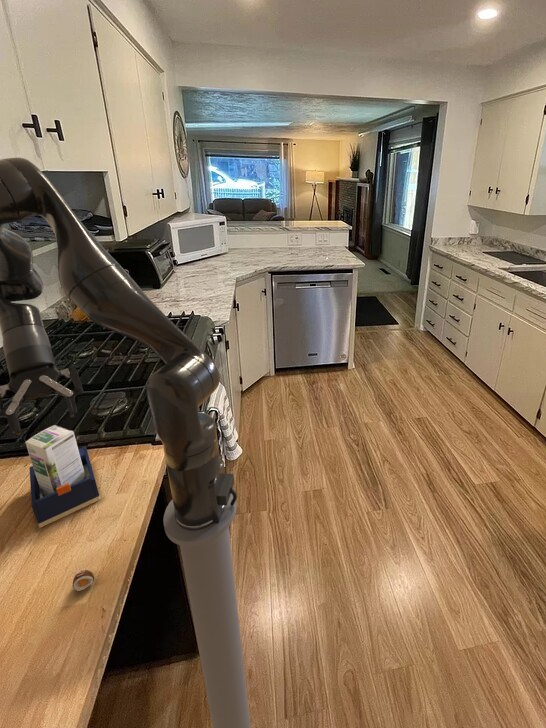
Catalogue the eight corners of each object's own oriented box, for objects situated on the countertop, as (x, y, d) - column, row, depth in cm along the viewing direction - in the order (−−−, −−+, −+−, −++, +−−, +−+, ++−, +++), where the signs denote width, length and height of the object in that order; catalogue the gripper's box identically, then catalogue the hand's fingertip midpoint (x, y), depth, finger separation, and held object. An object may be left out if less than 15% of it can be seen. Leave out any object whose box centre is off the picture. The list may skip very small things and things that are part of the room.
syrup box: (42, 500, 72) (22, 442, 67) (70, 478, 77) (53, 423, 72) (62, 509, 70) (43, 450, 65) (90, 485, 75) (74, 429, 70)
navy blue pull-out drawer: (101, 501, 73) (93, 474, 70) (39, 530, 67) (29, 501, 64) (91, 464, 82) (84, 439, 79) (36, 487, 76) (27, 460, 73)
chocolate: (97, 573, 60) (92, 557, 58) (95, 586, 58) (90, 569, 56) (76, 581, 58) (70, 564, 57) (73, 595, 57) (67, 578, 55)
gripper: (-23, 355, 68) (-6, 436, 63) (68, 335, 76) (88, 406, 72) (-13, 368, 73) (3, 444, 69) (70, 348, 82) (89, 415, 77)
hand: (46, 424), depth 70 cm, fingers open, 8 cm apart
